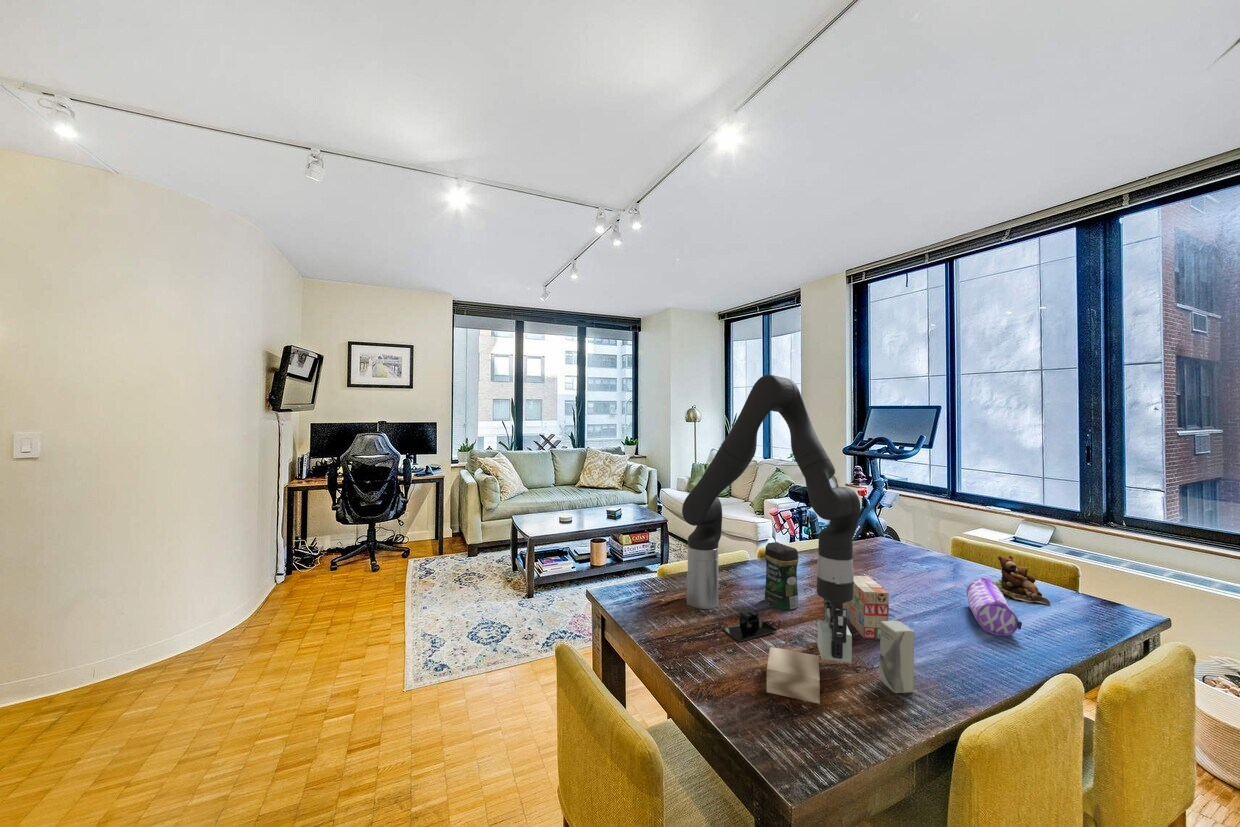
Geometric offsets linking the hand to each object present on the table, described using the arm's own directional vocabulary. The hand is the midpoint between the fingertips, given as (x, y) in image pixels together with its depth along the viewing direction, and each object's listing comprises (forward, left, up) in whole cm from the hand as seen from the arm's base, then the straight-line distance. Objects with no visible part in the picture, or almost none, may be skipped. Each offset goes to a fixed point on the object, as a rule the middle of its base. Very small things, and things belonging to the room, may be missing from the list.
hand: (834, 649), depth 102 cm
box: (+11, -4, -4) cm, 13 cm away
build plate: (-17, +13, -6) cm, 22 cm away
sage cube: (0, 0, -1) cm, 1 cm away
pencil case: (+47, +39, -5) cm, 61 cm away
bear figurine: (+67, +64, -5) cm, 92 cm away
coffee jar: (-9, +34, -4) cm, 35 cm away
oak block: (-10, -9, -4) cm, 14 cm away
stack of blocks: (+12, +29, -5) cm, 31 cm away
